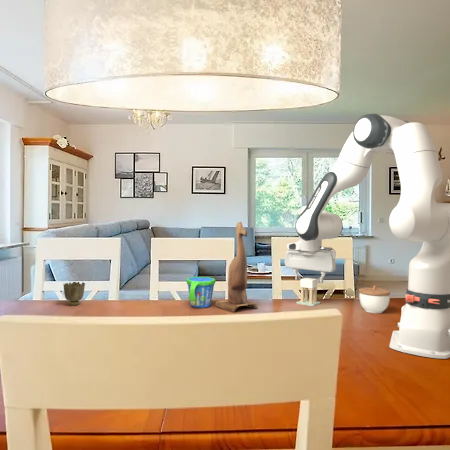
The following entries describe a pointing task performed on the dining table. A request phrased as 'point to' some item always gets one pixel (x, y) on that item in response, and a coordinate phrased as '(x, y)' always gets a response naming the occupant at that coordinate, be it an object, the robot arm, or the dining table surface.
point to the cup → (74, 292)
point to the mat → (308, 303)
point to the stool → (312, 285)
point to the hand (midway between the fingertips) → (309, 281)
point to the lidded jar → (374, 299)
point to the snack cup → (200, 291)
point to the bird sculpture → (237, 276)
